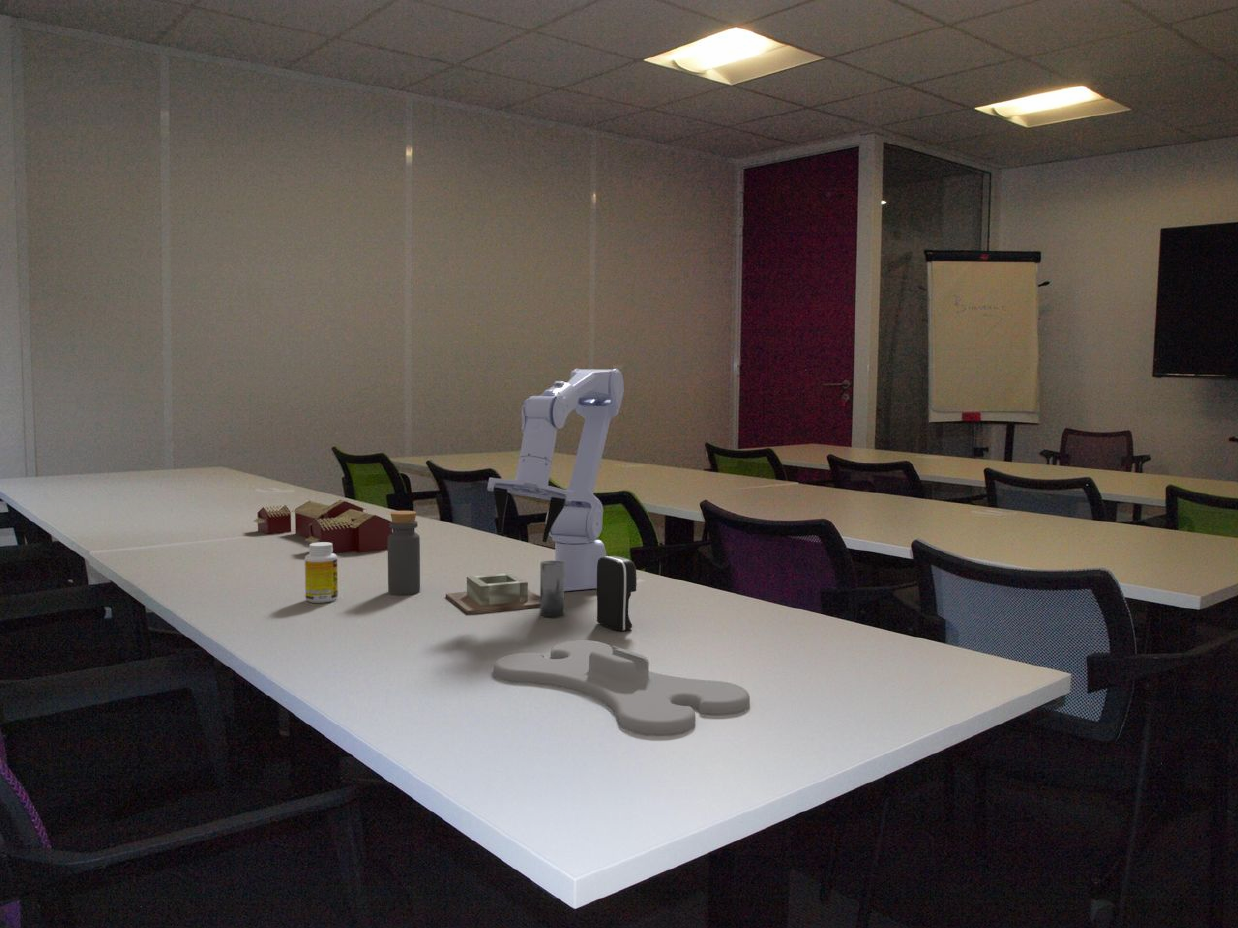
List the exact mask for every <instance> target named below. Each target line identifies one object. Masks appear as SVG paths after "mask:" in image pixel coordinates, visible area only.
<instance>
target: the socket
mask: <svg viewBox="0 0 1238 928" xmlns="http://www.w3.org/2000/svg"><path fill="white" fill-rule="evenodd" d="M528 584H529V582H528V581H526V580H524V579H523V578H521V577H520V576H518V575H516V574H515V573H512V572H506V573H496V574H494V573H493V574H484V575H483V574H482V575H474V576H473V575H472V576H466V591H461V592H458V591H457V592H448V593H445V598H446V599H448V600H449V601H450V602H452V604H454V605H455V606H456V607H458V608H459V609H461V611H463V612H464V613H465V614H467V615H474V614H483V613H494V612H504V611H505V612H506V611H514V610H525V609H535V608H540V596H539V595H537V594H536V593H534V592H533V591H532V590H530V589H529V585H528Z"/></svg>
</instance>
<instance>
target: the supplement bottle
mask: <svg viewBox="0 0 1238 928" xmlns="http://www.w3.org/2000/svg"><path fill="white" fill-rule="evenodd" d="M308 547H309V548H308V549H309V550H308V551H309V552H308V554H307V555H305V556H304V589H305V593H304V595H305V600H306V601H307V602H308V603H312V604H325V603H331V602H335V601H336V600H337V599H338V595H339V594H338V593H339V591H338V588H339V587H338V579H339V578H338V555H337V553H336V554H334V553H332V552H333V548H332V543H329V542H318V543H312V544H310V543H309V545H308Z"/></svg>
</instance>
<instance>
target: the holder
mask: <svg viewBox="0 0 1238 928" xmlns="http://www.w3.org/2000/svg"><path fill="white" fill-rule="evenodd" d="M649 663H650V662H649V659H648V658H647V656H645V655H644V654H640V653H638V652H634V651H630V650H627V649H624V648H622V647H618V646H615V645H613V646H612V647H611V645H609V644H607V643H604V642H601V641H596V640H589V639H587V640H586V639H584V640H583V639H580V640H579V639H577V640H569V641H568V640H567V641H564V642H563V641H562V642H560V643H558V644H555V645H554V646H553V647H552V649H551V650H550V658H547V657H545V656H544V654H542V653H537V652H521V653H520V652H519V653H513V654H508V655H505V656H502V657H500V658H498V659H497V660H496V661H495V662H494V663H493V674H494V676H495V677H496V678H498V679H499V680H503V681H507V682H512V683H525V684H526V683H527V684H535V685H537V684H538V685H544V686H545V685H546V686H551V687H557V688H563V689H565V690H570V691H575V692H578V693H581V694H583V695H587V696H589V697H592V698H593V699H596V700H598V701H600V702H601V703H603V704H605V705H606V706H607V707H609V708H610V709H611V710H612V711H613V712H614V713H615V715H616V717H617V720H618V723H619V725H620V726H621V727H622V728H623V729H624V730H626V731H629V732H632V733H635V734H639V735H643V736H644V735H645V736H655V737H657V736H658V737H661V736H662V737H663V736H664V737H665V736H673V735H674V736H676V735H680V734H683V733H686V732H689V731H690V730H691V729H693V728H694V727H695V725H696V712H695V710H694V709H693V708H695V709H697V710H698V711H699V714H700V715H709V716H727V715H728V716H729V715H734V714H738V713H741V712H744V711H745V710H747V709H748V708H749V706H750V700H751V697H750V694H749V692H748V690H746V688H744V687H742V686H740V685H737V684H736V683H732V682H728V681H723V680H722V681H721V680H709V679H708V680H707V679H696V678H687V677H680V676H673V675H669V674H662V673H658V672H653V671H650V669H649V666H650V665H649Z"/></svg>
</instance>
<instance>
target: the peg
mask: <svg viewBox="0 0 1238 928" xmlns="http://www.w3.org/2000/svg"><path fill="white" fill-rule="evenodd" d="M539 566H540V571H539V574H540V579H539V581H540V582H539V583H540V585H539V586H540V587H539V588H540V589H539V591H540V592H539V595H540V607H539V611H540V613H539V615H540V617H541V618H546V619H558V618H563V617H564V616H565V614H564V613H565V611H564V610H565V591H564V562H562V561H555V560H544V561H541V562H540V565H539Z"/></svg>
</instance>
